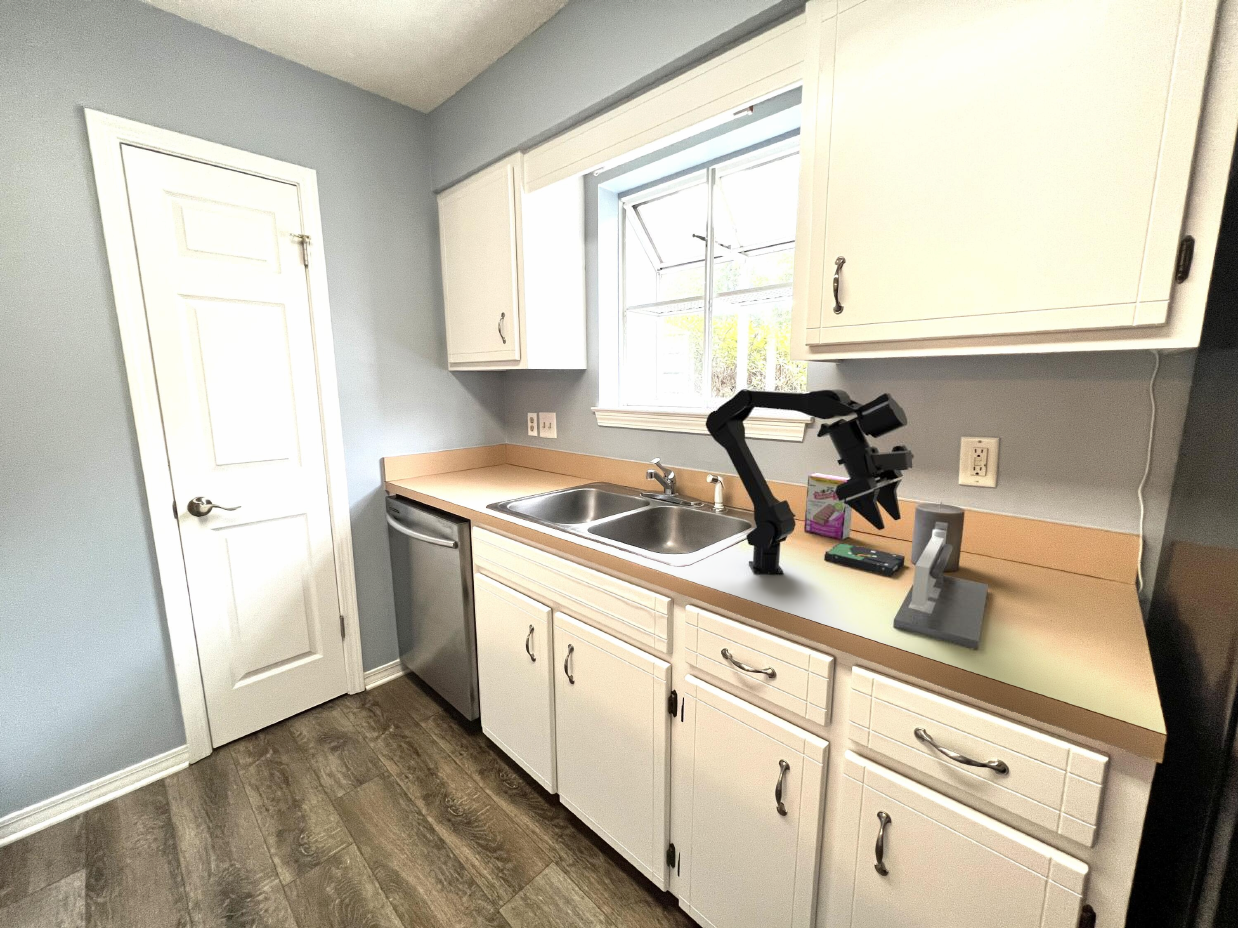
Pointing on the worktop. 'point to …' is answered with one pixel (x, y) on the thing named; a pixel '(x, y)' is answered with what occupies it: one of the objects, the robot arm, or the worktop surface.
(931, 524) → the pillar candle
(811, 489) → the candy bar box
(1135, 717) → the worktop surface
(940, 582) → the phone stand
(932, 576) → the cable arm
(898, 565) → the disk drive
